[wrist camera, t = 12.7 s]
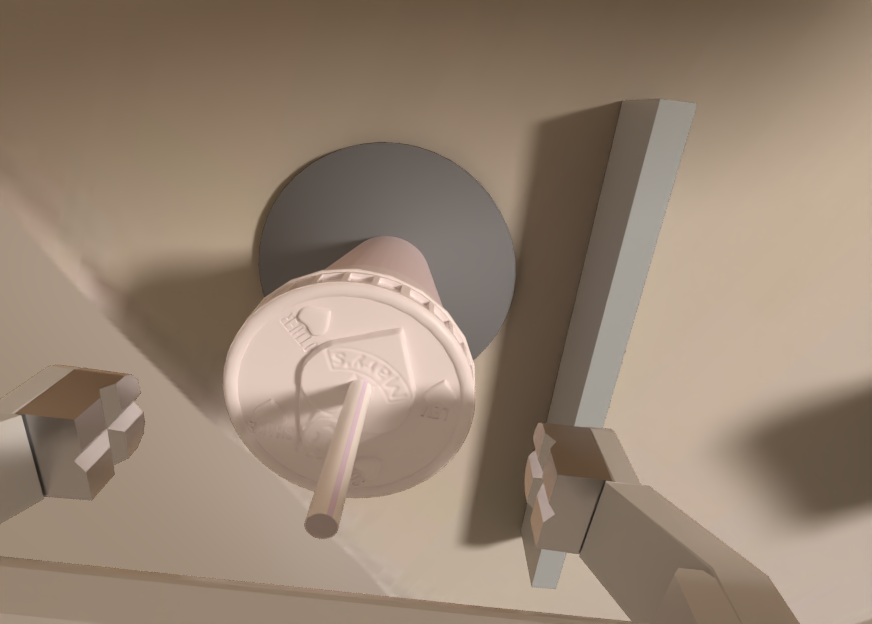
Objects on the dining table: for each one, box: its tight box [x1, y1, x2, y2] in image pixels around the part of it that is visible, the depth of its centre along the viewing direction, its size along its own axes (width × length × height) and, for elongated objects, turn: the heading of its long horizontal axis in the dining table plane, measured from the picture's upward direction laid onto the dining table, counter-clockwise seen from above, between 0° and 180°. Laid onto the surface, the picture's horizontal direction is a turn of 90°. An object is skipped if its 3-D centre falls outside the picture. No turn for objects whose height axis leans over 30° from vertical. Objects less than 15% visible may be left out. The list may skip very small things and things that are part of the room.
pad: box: [259, 142, 516, 360], centre depth 21 cm, size 11×11×1 cm
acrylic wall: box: [521, 99, 697, 589], centre depth 21 cm, size 22×1×4 cm, turn 174°
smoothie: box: [223, 236, 475, 539], centre depth 15 cm, size 6×6×14 cm
